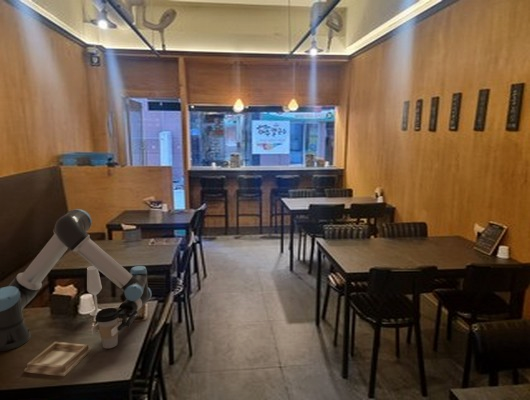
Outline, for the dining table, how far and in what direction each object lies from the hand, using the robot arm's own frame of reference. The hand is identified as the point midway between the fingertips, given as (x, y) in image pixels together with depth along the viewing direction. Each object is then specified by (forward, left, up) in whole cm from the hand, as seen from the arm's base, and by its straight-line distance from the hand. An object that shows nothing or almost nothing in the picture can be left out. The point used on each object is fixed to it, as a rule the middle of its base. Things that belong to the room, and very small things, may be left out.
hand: (102, 332), depth 154 cm
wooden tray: (-15, -7, -10) cm, 19 cm away
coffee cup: (0, +5, -9) cm, 10 cm away
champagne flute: (-24, +32, -10) cm, 41 cm away
